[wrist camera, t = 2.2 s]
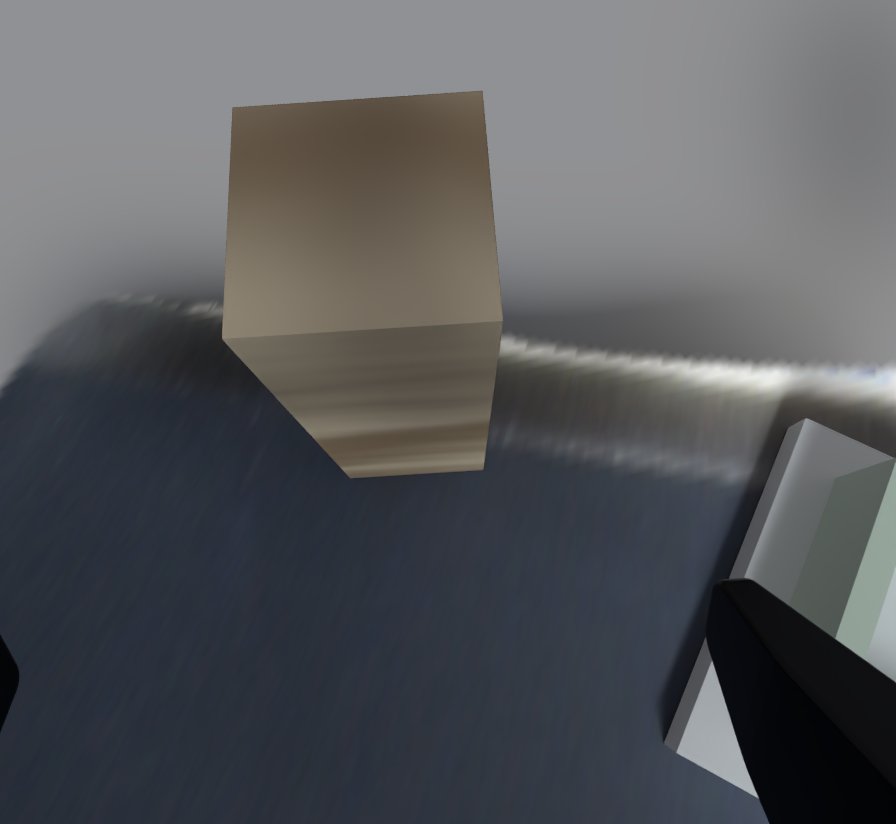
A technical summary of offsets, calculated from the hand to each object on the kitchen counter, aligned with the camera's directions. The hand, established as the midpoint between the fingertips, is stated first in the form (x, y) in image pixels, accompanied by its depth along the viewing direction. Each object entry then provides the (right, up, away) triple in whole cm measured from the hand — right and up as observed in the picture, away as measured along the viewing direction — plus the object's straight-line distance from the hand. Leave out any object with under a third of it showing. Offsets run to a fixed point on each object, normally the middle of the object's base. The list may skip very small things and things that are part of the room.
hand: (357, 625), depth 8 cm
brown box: (0, +3, +14) cm, 15 cm away
